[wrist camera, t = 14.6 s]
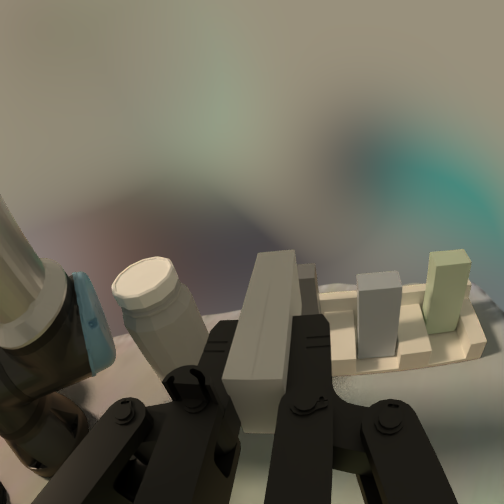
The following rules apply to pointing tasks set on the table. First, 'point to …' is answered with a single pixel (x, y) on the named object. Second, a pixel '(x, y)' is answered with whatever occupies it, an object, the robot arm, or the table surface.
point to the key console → (400, 335)
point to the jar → (160, 315)
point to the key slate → (378, 313)
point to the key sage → (445, 290)
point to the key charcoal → (309, 289)
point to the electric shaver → (2, 495)
